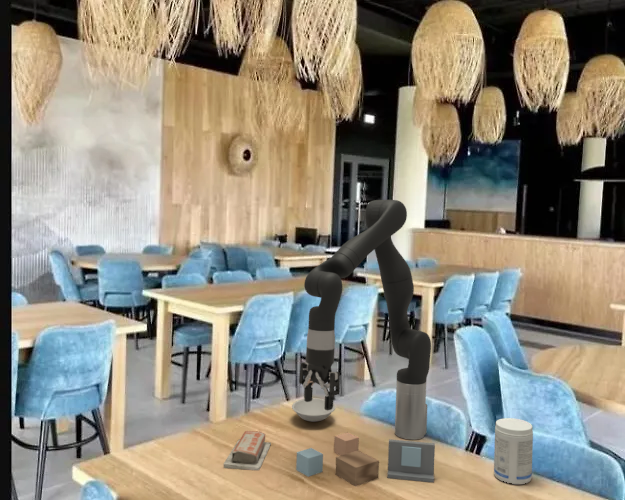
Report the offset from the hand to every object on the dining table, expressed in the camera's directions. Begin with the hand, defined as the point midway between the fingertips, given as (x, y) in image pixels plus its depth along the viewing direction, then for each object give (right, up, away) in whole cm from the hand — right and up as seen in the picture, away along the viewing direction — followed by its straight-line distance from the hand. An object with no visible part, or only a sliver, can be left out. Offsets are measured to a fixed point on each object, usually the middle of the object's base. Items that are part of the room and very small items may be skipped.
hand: (318, 405), depth 162 cm
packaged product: (-20, -17, +8) cm, 27 cm away
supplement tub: (+52, -19, -2) cm, 55 cm away
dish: (-1, -15, +38) cm, 40 cm away
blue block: (-2, -17, -1) cm, 18 cm away
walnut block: (+10, -18, -3) cm, 21 cm away
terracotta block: (+8, -17, +12) cm, 22 cm away
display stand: (+25, -18, -2) cm, 31 cm away
